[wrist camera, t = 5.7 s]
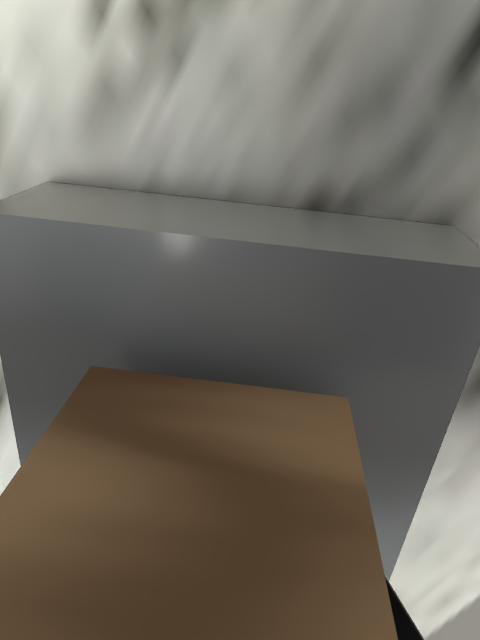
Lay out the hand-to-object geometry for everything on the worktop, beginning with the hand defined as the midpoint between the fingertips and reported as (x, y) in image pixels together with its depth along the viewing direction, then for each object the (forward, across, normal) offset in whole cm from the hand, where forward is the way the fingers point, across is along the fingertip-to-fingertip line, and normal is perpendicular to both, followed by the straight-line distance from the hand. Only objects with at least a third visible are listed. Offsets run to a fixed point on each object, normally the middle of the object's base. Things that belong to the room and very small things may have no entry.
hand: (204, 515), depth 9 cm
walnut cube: (+1, 0, 0) cm, 1 cm away
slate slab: (+5, 0, 0) cm, 5 cm away
